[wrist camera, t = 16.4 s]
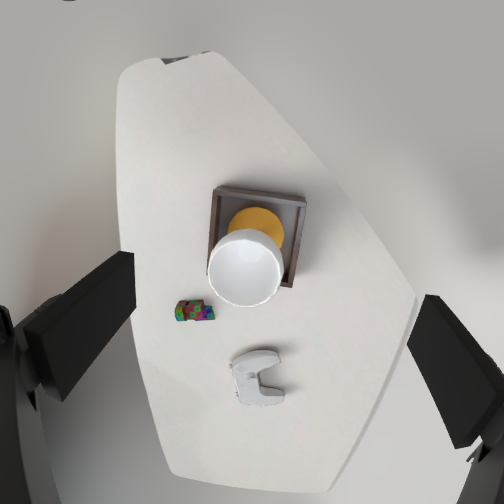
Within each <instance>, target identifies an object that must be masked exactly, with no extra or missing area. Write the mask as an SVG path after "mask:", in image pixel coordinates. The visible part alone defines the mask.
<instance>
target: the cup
mask: <svg viewBox="0 0 504 504" xmlns="http://www.w3.org/2000/svg"><path fill="white" fill-rule="evenodd" d="M283 240H284V229H283V225H282V223H281V221H280V220H279V218H278V216H277V215H275V214H274V213H273V212H271V211H270V210H268V209H265V208H261V207H250V208H245V209H243V210H242V211H240V212H238V213H237V214H236V215H235V216H234V217H233V219H232V220H231V222H230V224H229V228H228V235H226V236H224V237H223V238H222V239H221V240H220V241H219V242H218V243H217V245H216V246H215V248H214V249H213V250H212V252H211V255H210V260H209V265H208V270H207V274H208V278H209V282H210V286H211V287H212V288H213V290H214V291H215V293H216V294H217V295H218V296H219V297H220V298H221V299H223V300H224V301H226V302H227V303H229V304H232V305H235V306H239V307H253V306H258V305H260V304H262V303H264V302H266V301H268V300H270V299H271V297H272V296H273V295H274V294H275V293H276V292H277V291H278V289H279V286H280V283H281V280H282V277H283V273H284V266H283V259H282V254H281V251H280V248H281V247H282V244H283Z"/></svg>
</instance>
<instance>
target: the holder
mask: <svg viewBox="0 0 504 504" xmlns="http://www.w3.org/2000/svg"><path fill="white" fill-rule="evenodd" d="M306 205H307V202H306V199H305V198H303V197H296V196H289V195H282V194H275V193H268V192H261V191H253V190H245V189H237V188H229V187H220V186H218V187H217V188H215V189H214V190H213V197H212V208H211V220H210V232H209V245H208V259H207V270H208V265H209V260H210V255H211V252H212V250H213V249H214V248H215V246H216V245H217V243H218V242H219V241H220V240H221V239H222V238H223V237H224V236H226V235H228V228H229V224H230V222H231V220H232V219H233V217H234V216H235V215H236V214H237V213H238V212H240V211H242V210H243V209H245V208H250V207H261V208H265V209H268V210H270V211H271V212H273V213H274V214H275V215H277V216H278V218H279V220H280V221H281V223H282V225H283V229H284V240H283V244H282V247H281V248H280V251H281V254H282V259H283V266H284V273H283V277H282V280H281V283H280V286H282V287H289V288H292V285H293V280H294V275H295V269H296V264H297V258H298V253H299V247H300V241H301V235H302V229H303V223H304V217H305V211H306ZM206 275H208V274H206Z"/></svg>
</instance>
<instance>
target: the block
mask: <svg viewBox="0 0 504 504" xmlns="http://www.w3.org/2000/svg"><path fill="white" fill-rule="evenodd" d="M186 303H187V301H180V302H179V303H178V304H177V306H176V308H175V318H176V320H177V321H187V320H191V319H193V320H195V321H200V320H214V319H215V318H214V314H213V309H212V306H206V307H205V306H204V302H203V300H195V301H190V303H189V305H186Z"/></svg>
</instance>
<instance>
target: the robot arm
mask: <svg viewBox="0 0 504 504" xmlns="http://www.w3.org/2000/svg"><path fill="white" fill-rule="evenodd" d="M135 309H136V292H135V268H134V253H130V252H124V251H118V252H117V253H116V254H114V255H113V256H111V257H110V258H109V259H107V260H106V261H105V262H103V263H102V264H101V265H99V266H98V267H97V268H95V269H94V270H93V271H92V272H90V273H89V274H88V275H86V276H85V277H84V278H82V279H81V280H80V281H79V282H77V283H76V284H75V285H74V286H73V287H71V288H70V289H69V290H67V291H66V292H65V293H64V294H59V295H57V296H54V297H52V298H50V299H48V300H47V301H45V302H44V303H43V304H42V305H41V306H40V307H38V308H37V309H36V310H34V313H33V312H32V313H31V314H30V315H28V316H27V317H26V318H25V319H23V320H22V321H21V322H20V323H19V324H17V325H16V326H15V327H14V328H13V324H12V321H11V317H10V314H9V310H8V309H7V308H6V307H5V306H1V305H0V504H61V501H60V498H59V494H58V491H57V488H56V484H55V481H54V477H53V473H52V470H51V465H50V461H49V457H48V452H47V448H46V443H45V438H44V432H43V427H42V420H41V414H40V407H39V399H38V394H37V392H36V389H35V388H36V387H37V386H38V384H39V383H40V382H41V384H42V386H43V389H44V391H45V394H46V395H48V396H50V397H53V398H55V399H57V400H59V401H61V402H63V401H64V400H65V398H66V397H67V396H68V394H69V393H70V392H71V390H72V389H73V388H74V386H75V385H76V384H77V382H78V381H79V380H80V378H81V377H82V376H83V374H84V373H85V372H86V370H87V369H88V368H89V366H90V365H91V364H92V363H93V361H94V360H95V359H96V357H97V356H98V355H99V353H100V352H101V351H102V350H103V348H104V347H105V346H106V345H107V343H108V342H109V341H110V339H111V338H112V337H113V336H114V334H115V333H116V332H117V331H118V329H119V328H120V327H121V326H122V324H123V323H124V322H125V321H126V319H127V318H128V317H129V316H130V315H131V313H132V312H133V311H134V310H135ZM407 346H408V348H409V350H410V352H411V354H412V356H413V358H414V360H415V362H416V364H417V366H418V368H419V370H420V372H421V374H422V376H423V378H424V380H425V382H426V384H427V386H428V388H429V390H430V393H431V395H432V397H433V399H434V401H435V404H436V406H437V408H438V410H439V412H440V415H441V417H442V419H443V422H444V424H445V426H446V429H447V431H448V433H449V436H450V438H451V440H452V443H453V445H454V448H455V449H459V448H464V447H468V446H471V445H472V444H473V442H474V441H475V440H476V439H477V438H478V436H479V435H480V436H481V439H482V440H483V441H482V442H481V444H480V445H479V446H478V447H477V448H476V449H475V451H474V452H473V453H472V454H471V455H470V456H469V457H468V459H467V460H466V461H467V462H469V461H470V459H471V458H473V457H474V460H473V462H472V466H471V469H470V471H469V474H468V477H467V479H466V482H465V485H464V487H463V490H462V492H461V494H460V497H459V499H458V501H457V504H504V374H503V373H502V371H501V370H500V368H499V367H497V364H496V363H495V362H494V361H493V359H492V358H491V357H490V356H489V355H488V354H486V353H485V352H484V351H483V349H482V348H481V347H480V345H479V344H478V343H477V341H476V340H475V339H474V338H473V336H472V335H471V334H470V332H469V331H468V330H467V329H466V328H465V326H464V325H463V324H462V323H461V322H460V320H459V319H458V318H457V317H456V315H455V314H454V313H453V312H452V311H451V310H450V308H449V307H448V306H447V305H446V304H445V302H444V301H443V300H442V299H441V298H440V297H439V296H435V295H427V294H426V295H425V298H424V301H423V304H422V306H421V309H420V312H419V314H418V317H417V319H416V322H415V325H414V327H413V330H412V332H411V335H410V337H409V340H408V342H407Z"/></svg>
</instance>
